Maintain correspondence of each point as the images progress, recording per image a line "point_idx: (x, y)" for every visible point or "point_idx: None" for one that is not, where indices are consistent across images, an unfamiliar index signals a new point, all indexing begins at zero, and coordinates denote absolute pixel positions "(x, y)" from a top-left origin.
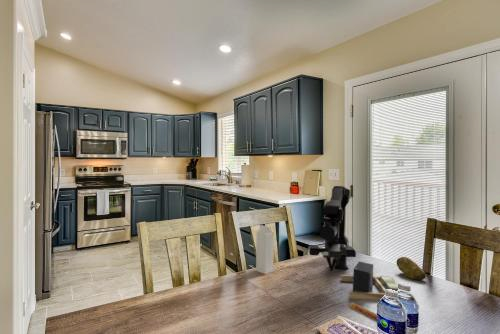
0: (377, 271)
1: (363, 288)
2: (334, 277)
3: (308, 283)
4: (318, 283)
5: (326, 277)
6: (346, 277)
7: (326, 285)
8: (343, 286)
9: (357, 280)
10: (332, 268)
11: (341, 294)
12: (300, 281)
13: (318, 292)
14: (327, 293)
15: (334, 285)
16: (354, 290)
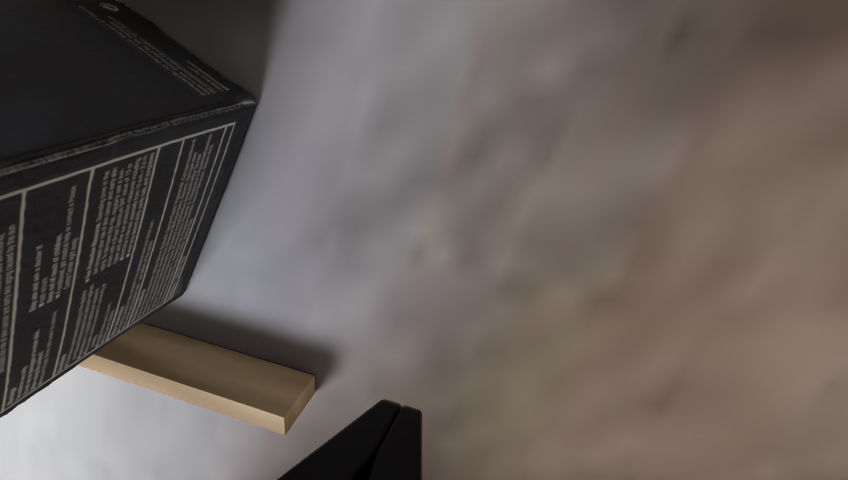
0: (46, 448)
1: (66, 32)
2: None
3: (723, 408)
4: (583, 383)
5: (441, 470)
6: (248, 391)
7: (502, 325)
8: (320, 277)
9: (41, 96)
10: (356, 435)
11: (389, 86)
12: (815, 472)
13: (703, 158)
14: (573, 121)
15: (409, 311)
16: (209, 94)
